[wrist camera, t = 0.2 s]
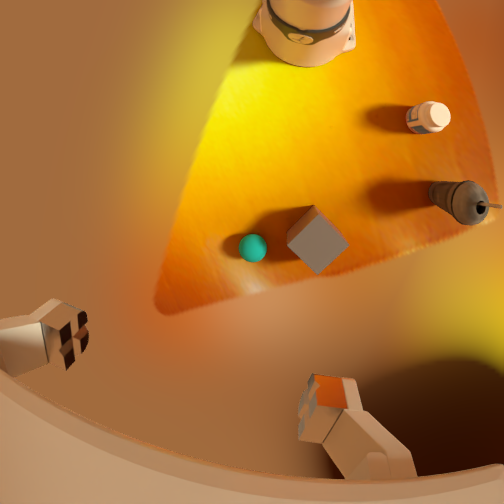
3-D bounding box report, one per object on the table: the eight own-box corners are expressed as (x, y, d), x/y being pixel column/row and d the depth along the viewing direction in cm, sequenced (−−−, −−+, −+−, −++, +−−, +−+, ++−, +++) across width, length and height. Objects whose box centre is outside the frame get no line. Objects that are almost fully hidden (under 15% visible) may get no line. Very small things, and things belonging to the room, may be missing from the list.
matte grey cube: (286, 232, 56) (286, 245, 48) (313, 204, 54) (318, 213, 46) (313, 257, 57) (317, 274, 49) (340, 231, 55) (349, 245, 47)
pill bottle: (434, 127, 47) (459, 124, 38) (413, 138, 48) (437, 137, 39) (420, 101, 46) (444, 94, 37) (399, 112, 47) (420, 105, 38)
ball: (243, 228, 57) (240, 235, 52) (270, 234, 57) (269, 242, 52) (238, 253, 59) (234, 262, 54) (264, 259, 59) (262, 269, 54)
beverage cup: (415, 197, 52) (471, 220, 33) (434, 166, 49) (495, 176, 30) (440, 218, 52) (498, 249, 33) (458, 189, 50) (520, 208, 31)
